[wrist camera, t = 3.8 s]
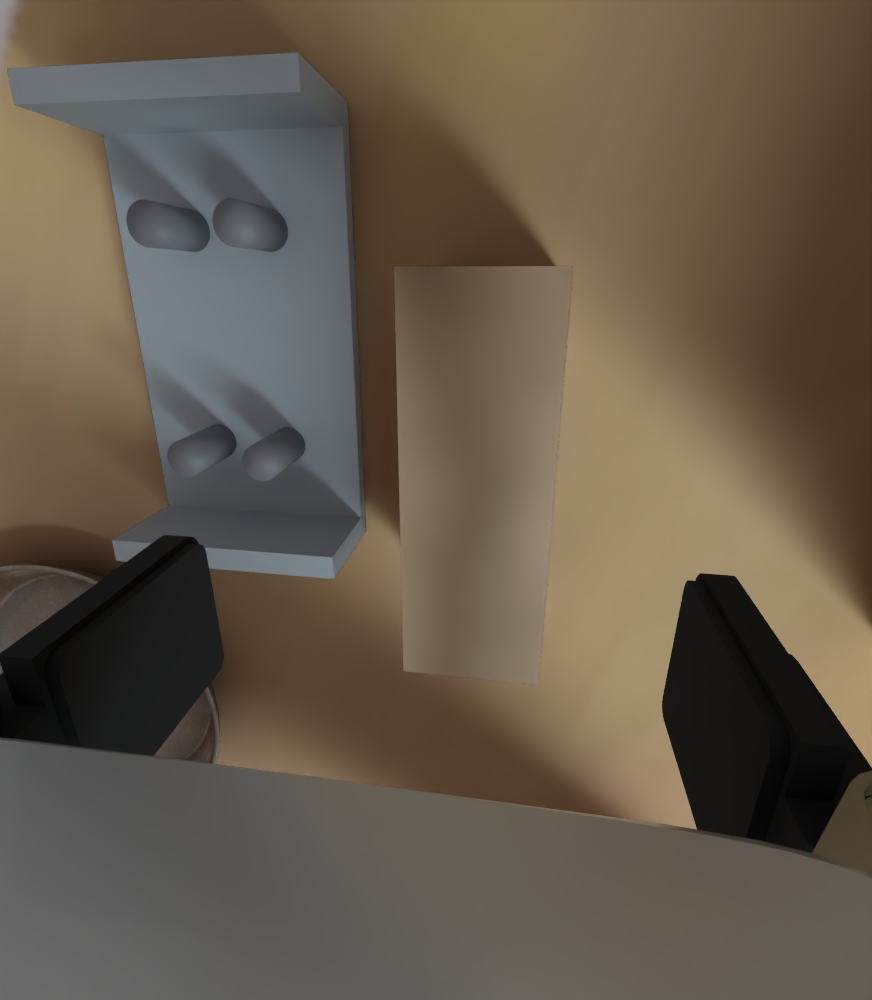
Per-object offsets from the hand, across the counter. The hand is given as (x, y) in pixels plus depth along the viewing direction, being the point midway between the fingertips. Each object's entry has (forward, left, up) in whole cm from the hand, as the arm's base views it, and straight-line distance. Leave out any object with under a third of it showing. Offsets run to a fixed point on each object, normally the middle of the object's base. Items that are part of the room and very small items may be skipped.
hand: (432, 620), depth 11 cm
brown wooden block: (0, 0, -16) cm, 16 cm away
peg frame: (+11, -4, -16) cm, 19 cm away
